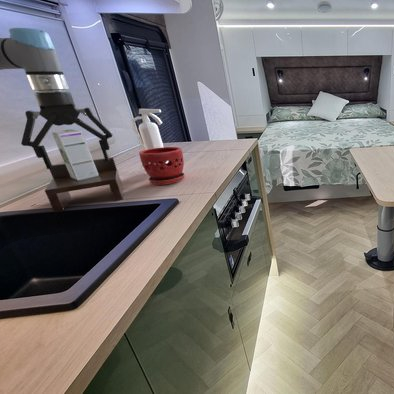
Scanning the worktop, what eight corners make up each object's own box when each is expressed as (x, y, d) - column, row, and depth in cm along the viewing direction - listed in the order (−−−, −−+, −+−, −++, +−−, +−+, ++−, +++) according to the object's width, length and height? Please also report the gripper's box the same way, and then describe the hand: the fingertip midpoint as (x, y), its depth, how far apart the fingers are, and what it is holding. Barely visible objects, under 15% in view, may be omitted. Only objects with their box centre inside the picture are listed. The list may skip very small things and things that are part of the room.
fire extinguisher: (145, 170, 122) (127, 108, 112) (177, 167, 125) (161, 107, 115) (139, 175, 116) (119, 110, 106) (172, 172, 119) (156, 108, 109)
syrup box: (99, 175, 92) (83, 130, 87) (76, 181, 88) (57, 133, 82) (92, 173, 95) (76, 128, 90) (69, 178, 91) (50, 131, 85)
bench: (54, 212, 84) (38, 176, 79) (62, 198, 94) (48, 165, 90) (122, 199, 92) (111, 166, 88) (123, 187, 103) (113, 157, 98)
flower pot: (188, 183, 106) (180, 150, 101) (146, 189, 101) (135, 155, 96) (188, 173, 117) (181, 144, 112) (150, 178, 111) (141, 148, 107)
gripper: (-19, 93, 72) (19, 174, 80) (107, 90, 86) (128, 159, 94) (-9, 92, 78) (26, 168, 86) (108, 89, 91) (128, 155, 99)
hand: (79, 164), depth 90 cm, fingers open, 13 cm apart
